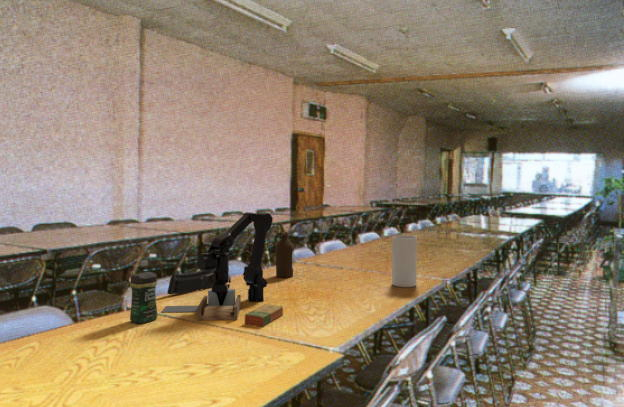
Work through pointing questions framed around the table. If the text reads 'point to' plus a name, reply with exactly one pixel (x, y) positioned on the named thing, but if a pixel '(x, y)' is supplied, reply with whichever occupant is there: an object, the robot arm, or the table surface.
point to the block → (227, 302)
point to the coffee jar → (143, 297)
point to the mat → (180, 309)
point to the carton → (264, 315)
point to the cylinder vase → (404, 261)
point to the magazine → (188, 282)
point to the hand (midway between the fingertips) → (221, 303)
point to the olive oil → (284, 257)
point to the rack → (217, 317)
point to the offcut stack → (218, 310)
